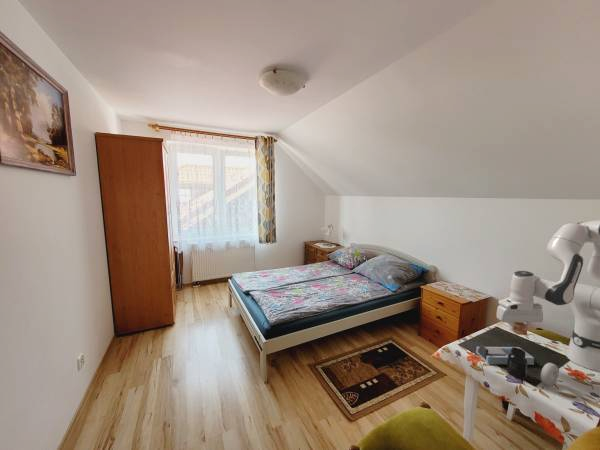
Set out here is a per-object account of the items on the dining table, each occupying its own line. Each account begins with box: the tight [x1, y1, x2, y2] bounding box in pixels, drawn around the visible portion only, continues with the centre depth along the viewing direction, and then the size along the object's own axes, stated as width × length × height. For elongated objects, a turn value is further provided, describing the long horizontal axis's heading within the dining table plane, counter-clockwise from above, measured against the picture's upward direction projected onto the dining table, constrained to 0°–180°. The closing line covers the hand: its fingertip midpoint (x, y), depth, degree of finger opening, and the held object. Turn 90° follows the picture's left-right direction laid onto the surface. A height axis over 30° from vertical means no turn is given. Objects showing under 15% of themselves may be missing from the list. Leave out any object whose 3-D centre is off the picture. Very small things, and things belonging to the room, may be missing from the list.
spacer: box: [509, 322, 529, 336], centre depth 120 cm, size 4×4×5 cm
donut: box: [540, 362, 560, 387], centre depth 104 cm, size 10×4×10 cm, turn 114°
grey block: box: [478, 344, 506, 359], centre depth 122 cm, size 10×4×5 cm, turn 87°
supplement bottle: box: [506, 346, 528, 380], centre depth 110 cm, size 7×7×12 cm
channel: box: [475, 346, 535, 366], centre depth 122 cm, size 22×9×4 cm, turn 87°
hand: (518, 329), depth 120 cm, fingers closed on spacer, 4 cm apart
